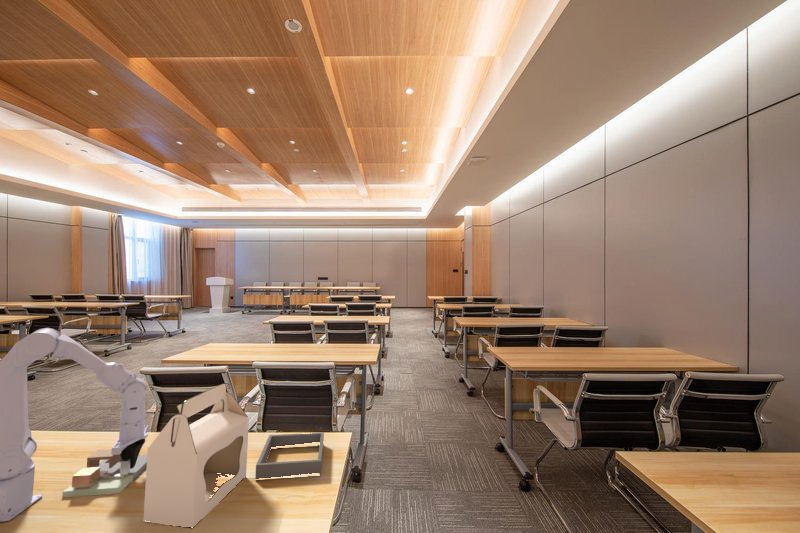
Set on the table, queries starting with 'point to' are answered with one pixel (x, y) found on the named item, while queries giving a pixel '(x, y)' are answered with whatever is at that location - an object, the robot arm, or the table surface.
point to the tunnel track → (113, 467)
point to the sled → (97, 475)
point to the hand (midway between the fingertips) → (129, 467)
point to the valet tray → (291, 466)
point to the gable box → (196, 459)
